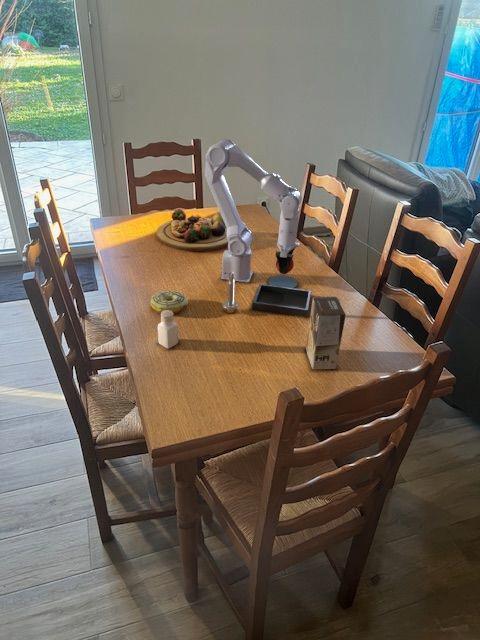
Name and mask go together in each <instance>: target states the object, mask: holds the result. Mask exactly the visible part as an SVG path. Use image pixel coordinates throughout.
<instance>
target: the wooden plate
mask: <svg viewBox="0 0 480 640" xmlns="http://www.w3.org/2000/svg"><path fill="white" fill-rule="evenodd" d="M155 234H156V237H157V239H158V240H159V242H161V243H162V244H163V245H165V246H168V247H171V248H174V249H178V250H183V251H190V252H191V251H192V252H193V251H194V252H204V251H213V250H218V249H219V250H220V249H223V248H226V247H228V240H227V228H226V225H225V223H224V221H223V218H222V216H221V213H220V212H215V213H214V214H213V216H212V217H211V218H210V217H202V216H201V215H199V214H195V215H194V214H192V215H191V216H189V217H187V214H186V212H185V211H184V210H183V209H181V208H176V209H175V210H174V211H173V212H172V214H171V220H168V221H166V222H164V223H162V224H160V225H159V226H158V227H157V230H156V232H155Z"/></svg>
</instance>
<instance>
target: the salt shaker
mask: <svg viewBox="0 0 480 640" xmlns="http://www.w3.org/2000/svg"><path fill="white" fill-rule="evenodd" d="M160 321H161V322H159V323H158V324H157V340H158V344H159V345H161V346H162V347H163V348H166V349H170V348H172V347H174V346H176V345H178V343H179V328H178V324H177V323H176V321H174V314H173V312H172V311H169V310H165V311H162V312H161V313H160Z"/></svg>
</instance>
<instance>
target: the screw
mask: <svg viewBox="0 0 480 640" xmlns="http://www.w3.org/2000/svg"><path fill="white" fill-rule="evenodd" d="M233 278H234V273H233V272H230V273H229V280H227V294H226V295H227V297H226V298H227V300H225V301H223V302H222V304H221V306H222V308H223V309H224V310H225V312H226V313H228V314H232V313H233V314H234V312H235V310H237V309H238V308H239V303H238V302H237V301H235V300H234V299H235V298H234V297H235V281H234V279H233Z"/></svg>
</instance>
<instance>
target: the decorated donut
mask: <svg viewBox="0 0 480 640" xmlns="http://www.w3.org/2000/svg"><path fill="white" fill-rule="evenodd" d="M188 301H189V300H188V298H187V296H186V295H185V294H184V293H183V292H180V291H178V290H163V291H159V292H157V293H155V294H153V295H152V296H151V297H150V307H151V308H152V309H153V310H154V311H155V312H157V313H158V314H161V312H162V311H165V310H169V311H172V312H173V315H175V314H178V313H181V311H183V310H184V309H185V307H187V306H188V304H189V302H188Z"/></svg>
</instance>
